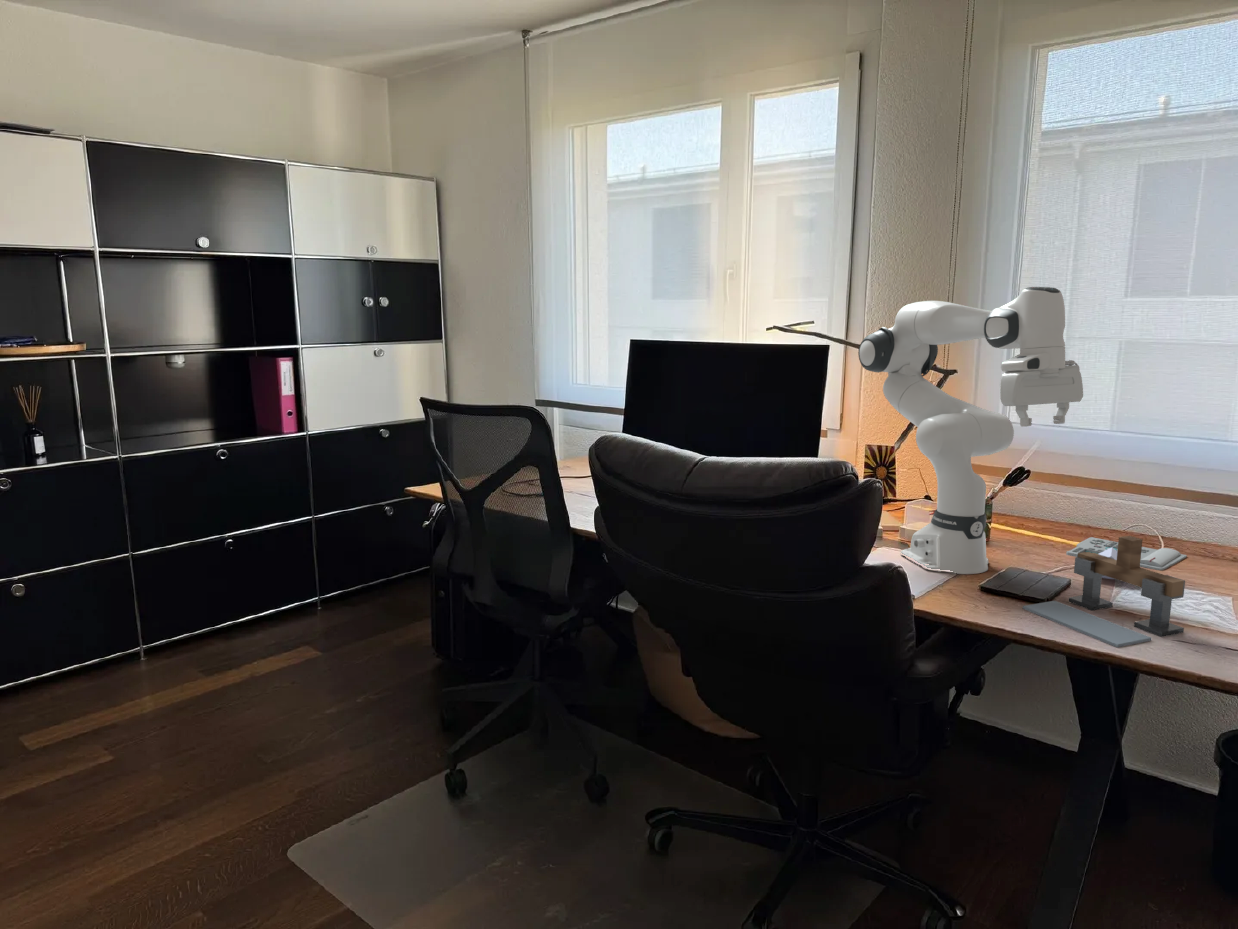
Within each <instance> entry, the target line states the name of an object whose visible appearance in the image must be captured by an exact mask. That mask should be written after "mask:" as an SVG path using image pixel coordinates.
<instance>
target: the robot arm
mask: <svg viewBox="0 0 1238 929" xmlns="http://www.w3.org/2000/svg"><path fill="white" fill-rule="evenodd" d="M1065 328H1066V309H1065V300H1064V297H1063V294H1062V292H1061V290H1059V289H1058V288H1057V287H1050V286H1028V287H1025V288H1024V289H1022V290H1021V292H1020V293H1019V295H1018V296H1017V297H1015V298H1014V299H1013V300H1011V301H1009V302H1008V303H1006V304H1004V305H1001V306H999V307H996V308H993V309H992V310H988V309H983V308H977V307H974V306H973V307H972V306H967V305H963V304H960V303H959V304H958V303H955V302H954V303H953V302H949V301H942V300H923V301H922V300H921V301H915V302H912V303H908V304H906V305H904V306H902V307H901V308H900V309H899V310H898V311H897V314H896V315H895V318H894V325H893V326H892V327H889V328H887V327H885V326H882V327H880V328H879V329H877V331H875V332H872V333H870V334H868V335H866V336H865V337H864V338H863V339H862V341H861V342H860V345H859V347H858V352H857V353H858V360H859V363H860V364H861V366H862V367H863V369H865V370H866V371H868V372H873V373H878V374H879V373H887V375H888V376H887V377H886V379H885V381H884V382H883V386H882V392H883V395H884V397H885V399H886V400H887V402H889V404H890V405H891V407H893V409H895V410H896V411H897V412H898V413H899V414H900V415H901V416H902V417H904V418H905V419H906V420H907V421H909V422H910V423H912V425H914V426H915V427H916V428H917V429H916V433H915V442H916V446H917V448H918V450H919V452H920V453H921V454H923V455H924V456H925V457H926V458H927V459H928V460H929V461H930V463H931V466H933V469H934V473H935V475H936V481H937V483H936V484H937V496H936V497H937V500H936V509H935V510H934V509H932V510H929V511H928V512H931V513H929V514H928V515H929V516H932V517H931V519H930V523H928V524H927V525H925V526H923V527H921V528H920V529H918V530H917V531H915V532H914V533H913V534H912V537H911V541H910V547H908V548H905V549H902V550H900V554H901V553H902V554H904V555H906V556H908V557H910V558H913V559H914V560H915V561H917V562H918V563H920V564H923V565H924V566H926V567H927V568H931V569H940V570H950V571H953V572H956V573H957V574H956V573H955V574H956V575H973V574H974V575H975V574H980V573H981V574H982V573H985V572H987V571H988V570H989V566H988V564H989V563H990V562H989V558H988V557H987V544H986V543H987V542H986V532H985V528H986V526H987V513H986V512H985V508H986V493H987V484H986V481H985V479H984V478H983V477H982V476H980V475H979V474H978V473H976V472H974V469H973V465H972V458H974V457H983V456H984V457H986V456H990V455H994V454H997V453H1000V452H1002V451H1005V450H1007V449H1008V448H1009V447H1010V445H1011V444H1012V443H1013V439H1014V436H1015V435H1014V434H1015V430H1014V426H1013V423H1012V421H1011V420H1010V418H1009V417H1008V416H1006V415H1005V414H1003V413H1000V412H995V411H991V410H988V409H985V408H982V407H980V406H977V405H974V404H972V403H970V402H967V401H965V400H963V399H960V398H956V397H954V396H952V395H951V394H948V393H946V392H945V391H943V389H941V388H939V387H938V386H936V385H935V384H933V383H932V382H930V380H928V379H926V378H924V376H926V375H928V374H929V372H930V371H931V368H932V367H933V366H934V364H935V361H936V359H937V357H938V352H939V348H938V346H939V345H949V344H955V343H961V342H966V341H967V342H968V341H972V340H979V339H985V340H986V342H987V343H988V345H990V346H991V347H993V348H996V349H1000V350H1001V349H1002V350H1011V349H1019V354H1016V355H1015V356H1012V357H1011V358H1009V359H1006V360H1004V361H1003V362H1002V363H1001V364H1000V369H1001V372H1003V374H1002V375H1001V378H1000V384H999V386H1000V390H999V395H1000V396H999V397H1000V402H1001V404H1002V405H1003V407H1015V413H1016V414H1017V416H1018V418H1019V422H1020V423H1019V425H1020V427H1026V428H1027V427H1031V426H1032V425H1033V423H1032V422H1033V420H1032V418H1031V417H1029V415H1028V413H1027V411H1029V406H1035V405H1037V406H1038V405H1047V404H1049V405H1050V404H1056V408H1057V412H1056V415H1053V416H1052V418H1053V421H1052V422H1053V424H1055V425H1060V424H1061V425H1063V424H1065V423H1066V416H1067V414H1068V411H1069V410H1070V403H1079V402H1081V401H1082V400H1083V397H1084V386H1083V385H1084V384H1083V378H1082V374H1081V371H1080V368H1081V367H1080V365H1079V364H1078V363H1077V362H1076V361H1075V360H1072V359H1071V360H1070V359H1069V360H1066V343H1065V339H1064V332H1065ZM925 564H929V565H925Z"/></svg>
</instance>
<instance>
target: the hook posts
mask: <svg viewBox="0 0 1238 929" xmlns="http://www.w3.org/2000/svg"><path fill="white" fill-rule="evenodd" d="M1098 555H1099V554H1098ZM1101 556H1103V555H1101ZM1104 557H1106V556H1104ZM1107 558H1109V557H1107ZM1111 559H1113V558H1111ZM1094 570H1095V562H1094V561H1091V560H1088V559H1085V558H1081V557H1075V556H1074V566H1073V573H1074V574H1076V575H1079V576H1082V577H1083V583H1082V593H1081V595H1076V596H1070V597H1068V603H1071V604H1074V605H1077V606H1078V607H1081V608H1084V609H1087V610H1089V611H1097V610H1103V609H1108V608H1113V606H1114V602H1112V601H1109V600H1107V599H1104V598H1101V591H1102V590H1101V588H1102V579H1103V578H1102V576H1105V575H1102V574H1099V573H1096V572H1094ZM1166 575H1167V576H1170V577H1173V578H1176V579H1180V580H1183V581H1184V585H1183V594H1182V595H1181V596H1176V597H1169V596H1166V595H1165V585H1166V584H1164V583H1161V582H1158V581H1155V580H1151V579H1148V578H1144V579H1142V588H1141V592H1140V596H1141V597H1145V598H1147V599H1151V601H1150V602H1151V604H1150V611H1149V612H1150V613H1149V618H1148V619H1143V620H1138V621H1134V624H1133V626H1134V628H1137V629H1140V630H1143V631H1145V632H1148V633H1150V634H1153V635H1156V636H1158V637H1161V638H1165V637H1168V636H1173V635H1179V634H1183V633H1184V630H1185V627H1182V626H1180V625H1178V624H1177V625H1176V624H1174V623H1172V622H1170V619H1171V612H1172V611H1171V610H1172V601H1173V600H1176V599H1181V598H1185V597H1184V596H1185V595H1184V594H1185V587H1186V580H1185V579H1181V578H1178V577H1175V576H1172V575H1168V574H1166Z"/></svg>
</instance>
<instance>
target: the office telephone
mask: <svg viewBox="0 0 1238 929" xmlns="http://www.w3.org/2000/svg"><path fill="white" fill-rule="evenodd" d="M1111 547H1113V548H1114V549H1115V550H1116V551H1118V541H1112V540H1110V539H1109V540H1108V539H1102V538H1096V537H1093V536H1090V537H1088V538H1086V539H1084V540H1082V541H1081V542H1078V543H1077V544H1076V547H1074V548H1072V549H1069V550H1068V551H1066V556H1071V557H1074V558H1075V557H1077V556H1078V553H1082V552H1091V553H1094V554H1099V553H1101V552H1103V551H1105V550H1107V549H1109V548H1111ZM1187 557H1188V555H1187V554H1182V553H1181V552H1180V551H1178V550H1176V549H1172V548H1168V547H1162V548H1159V549H1155V548H1150V547H1146V546H1142V550H1141V560H1140V568H1144V569H1148V570H1153V571H1154V570H1155V571H1164V570H1166V569H1168V568H1170V567H1171V566H1174V565H1176V564H1178V563H1179V562H1180V561H1182V560H1184V559H1185V558H1187Z"/></svg>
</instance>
